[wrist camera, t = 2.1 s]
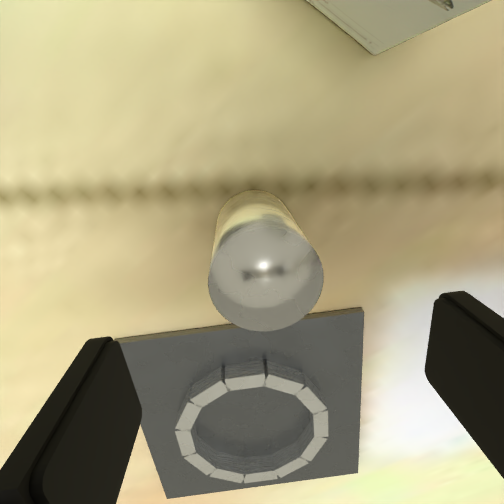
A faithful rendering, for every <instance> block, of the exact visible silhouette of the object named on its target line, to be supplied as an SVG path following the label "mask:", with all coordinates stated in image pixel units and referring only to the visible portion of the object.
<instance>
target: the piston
mask: <svg viewBox="0 0 504 504" xmlns="http://www.w3.org/2000/svg"><path fill="white" fill-rule="evenodd" d="M323 278H324V276H323V268H322V264H321V261H320V259H319V257H318V255H317V253H316V252H315V250H314V249H313V247H312V246H311V244H310V243H309V241H308V240H307V238H306V237H305V235H304V234H303V232H302V231H301V229H300V227H299V226H298V224H297V223H296V221H295V220H294V218H293V217H292V215H291V214H290V212H289V211H288V209H287V208H286V206H285V205H284V204H283V203H282V201H281V200H280V199H278V198H277V197H276V196H274V195H272V194H271V193H268V192H265V191H261V190H248V191H244V192H241V193H239V194H236V195H235V196H233V197H232V198H230V199H229V200H228V201H227V202H226V203H225V204H224V206H223V207H222V209H221V211H220V213H219V216H218V219H217V225H216V232H215V238H214V245H213V251H212V258H211V264H210V271H209V277H208V287H209V293H210V297H211V299H212V302H213V304H214V305H215V307H216V309H217V310H218V311H219V312H220V314H221V315H222V316H223V317H224V318H226V319H227V320H228V321H230V322H231V323H233V324H235V325H237V326H239V327H241V328H244V329H248V330H253V331H273V330H279V329H282V328H285V327H288V326H290V325H292V324H294V323H296V322H298V321H299V320H300V319H302V318H303V317H304V316H305V315H307V314H308V313H309V312H310V310H311V309H312V308H313V307H314V305H315V304H316V302H317V300H318V298H319V296H320V294H321V291H322V287H323Z"/></svg>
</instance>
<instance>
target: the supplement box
mask: <svg viewBox="0 0 504 504" xmlns="http://www.w3.org/2000/svg"><path fill="white" fill-rule="evenodd" d="M306 1H308V2H309V3H310V4H312V5H313V6H314V7H316V8H317V9H318V10H319V11H321V12H322V13H323V14H324V15H326V16H327V17H328V18H329V19H331V20H332V21H333V22H334V23H336V24H337V25H338V26H339V27H341V28H342V29H343V30H344V31H345V32H347V33H348V34H349V35H350V36H352V37H353V38H354V39H355V40H356V41H358V42H359V43H360V44H361V45H362V46H363V47H365V48H366V49H367V50H368V51H369V52H370V53H371V54H373V55H377V54H379V53H381V52H384V51H386V50H388V49H390V48H392V47H394V46H396V45H399V44H401V43H403V42H405V41H407V40H409V39H411V38H413V37H416V36H417V35H419V34H421V33H424V32H426V31H428V30H430V29H432V28H434V27H436V26H438V25H440V24H442V23H445V22H447V21H449V20H451V19H453V18H455V17H457V16H459V15H461V14H463V13H466V12H468V11H470V10H472V9H474V8H477V7H479V6H481V5H483V4H485V3H487V2H489V1H491V0H306Z"/></svg>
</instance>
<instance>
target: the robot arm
mask: <svg viewBox="0 0 504 504" xmlns="http://www.w3.org/2000/svg"><path fill="white" fill-rule="evenodd" d="M425 374H426V377H427V379H428V381H429V383H430V384H431V385H432V386H433V388H434V389H435V390H436V392H437V393H438V394H439V396H440V397H441V398H442V399H443V401H444V402H445V403H446V405H447V406H448V407H449V409H450V410H451V411H452V412H453V414H454V415H455V416H456V418H457V419H458V420H459V421H460V423H461V424H462V425H463V427H464V428H465V429H466V431H467V432H468V433H469V434H470V436H471V437H472V438H473V440H474V441H475V442H476V443H477V445H478V446H479V447H480V449H481V450H482V451H483V453H484V454H485V455H486V456H487V458H488V459H489V460H490V462H491V463H492V464H493V465H494V467H495V468H496V469H497V471H498V472H499V473H500V475H501V476H502V477H503V478H504V318H502V317H501V316H500V315H498V314H497V313H495V312H494V311H492V310H491V309H490V308H488V307H487V306H485V305H484V304H483V303H481V302H480V301H478V300H477V299H475V298H474V297H473V296H471V295H470V294H468V293H467V292H465V291H457V292H449V293H443V294H441V295H440V296H439V299H437V300H435V302H434V307H433V314H432V321H431V328H430V335H429V342H428V349H427V356H426V363H425ZM141 419H142V407H141V404H140V401H139V398H138V395H137V392H136V389H135V386H134V383H133V381H132V378H131V375H130V372H129V369H128V366H127V363H126V360H125V357H124V354H123V351H122V349H121V346H120V343H119V342H118V341H114V340H113V339H112V338H111V337H101V338H94V339H89V340H88V341H87V342H86V343H85V344H84V346H83V347H82V349H81V350H80V352H79V353H78V355H77V356H76V358H75V359H74V361H73V362H72V364H71V365H70V367H69V368H68V370H67V371H66V373H65V374H64V376H63V377H62V379H61V380H60V382H59V383H58V385H57V386H56V388H55V389H54V391H53V392H52V394H51V395H50V397H49V398H48V400H47V401H46V403H45V404H44V405H43V407H42V408H41V410H40V411H39V413H38V414H37V416H36V417H35V419H34V420H33V422H32V423H31V425H30V426H29V428H28V429H27V431H26V432H25V434H24V435H23V437H22V438H21V440H20V441H19V443H18V444H17V446H16V447H15V449H14V450H13V452H12V453H11V455H10V456H9V458H8V459H7V461H6V462H5V464H4V465H3V467H2V468H1V470H0V504H116V502H117V498H118V495H119V492H120V488H121V485H122V482H123V479H124V475H125V472H126V469H127V466H128V462H129V459H130V456H131V452H132V449H133V446H134V443H135V439H136V436H137V433H138V429H139V426H140V423H141Z"/></svg>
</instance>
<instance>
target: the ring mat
mask: <svg viewBox="0 0 504 504" xmlns="http://www.w3.org/2000/svg"><path fill="white" fill-rule="evenodd" d="M363 328H364V311H363V310H362V308H353V309H346V310H338V311H330V312H322V313H314V314H307V315H305V316H304V317H303V318H302V319H300V320H299V321H298V322H296V323H294V324H292V325H290V326H288V327H285V328H282V329H279V330H273V331H253V330H248V329H244V328H241V327H239V326H237V325H235V324H229V325H221V326H213V327H205V328H197V329H190V330H182V331H174V332H166V333H158V334H151V335H143V336H135V337H127V338H119V339H115V340H114V341H118V342H119V343H120V346H121V349H122V351H123V354H124V357H125V360H126V363H127V366H128V369H129V372H130V375H131V378H132V381H133V383H134V386H135V389H136V392H137V395H138V398H139V401H140V404H141V407H142V419H141V423H140V424H141V427H142V430H143V433H144V435H145V438H146V441H147V444H148V447H149V449H150V452H151V455H152V458H153V461H154V463H155V466H156V469H157V472H158V475H159V477H160V480H161V483H162V486H163V489H164V491H165V494H166V497H167V499H170V498H177V497H185V496H192V495H199V494H207V493H214V492H221V491H229V490H236V489H243V488H251V487H258V486H265V485H273V484H280V483H288V482H295V481H302V480H310V479H317V478H324V477H332V476H339V475H346V474H354V473H358V458H359V432H360V406H361V380H362V354H363Z"/></svg>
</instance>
